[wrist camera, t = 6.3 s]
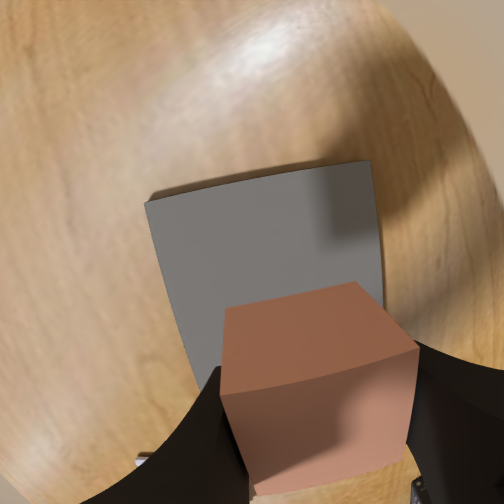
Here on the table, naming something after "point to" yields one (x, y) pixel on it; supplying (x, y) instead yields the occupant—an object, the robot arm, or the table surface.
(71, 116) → the table surface
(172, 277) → the mat
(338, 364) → the cube
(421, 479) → the small box
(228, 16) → the table surface
